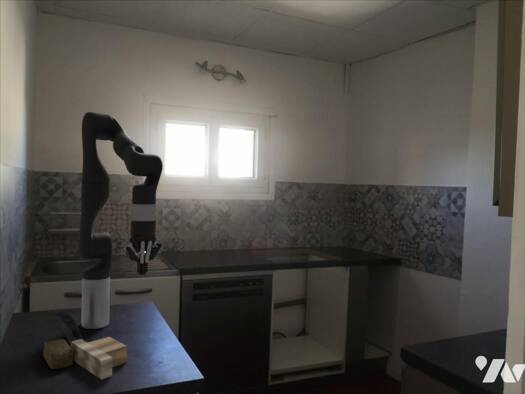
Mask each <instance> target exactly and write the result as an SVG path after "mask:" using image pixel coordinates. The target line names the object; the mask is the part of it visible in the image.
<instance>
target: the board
mask: <svg viewBox="0 0 525 394" xmlns="http://www.w3.org/2000/svg"><path fill="white" fill-rule="evenodd" d="M70 347H71V348H72V351H73V363H75V364H77V365H79V366H81V367H82V368H83V369H84V370H87V371H88V372H89V373H91V374H92V375H93V376H95V377H97V378H98V379H99V380H104V379H107V378H111V377H113V367H112V357H111V356H109V355H108V354H106V353H104V352H103V351H101V350H99V349H97V348H96V347H94V346H92V345H91V344H89V343H88V342H87V341H86V340H85V339H84V340H82V339H80V340H76V341H72V342H71V344H70Z"/></svg>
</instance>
